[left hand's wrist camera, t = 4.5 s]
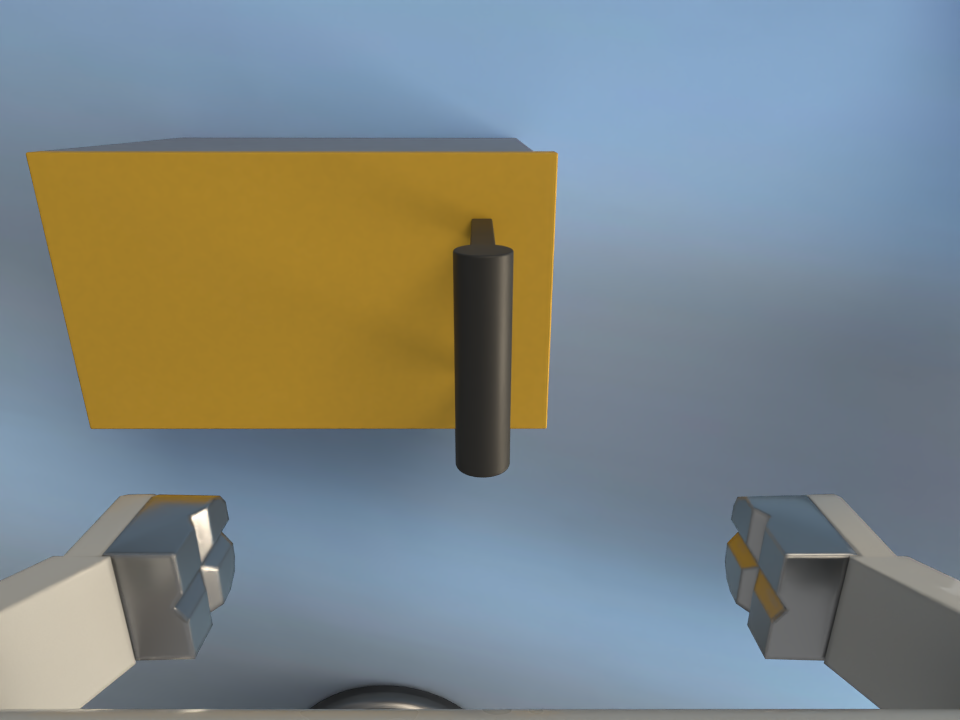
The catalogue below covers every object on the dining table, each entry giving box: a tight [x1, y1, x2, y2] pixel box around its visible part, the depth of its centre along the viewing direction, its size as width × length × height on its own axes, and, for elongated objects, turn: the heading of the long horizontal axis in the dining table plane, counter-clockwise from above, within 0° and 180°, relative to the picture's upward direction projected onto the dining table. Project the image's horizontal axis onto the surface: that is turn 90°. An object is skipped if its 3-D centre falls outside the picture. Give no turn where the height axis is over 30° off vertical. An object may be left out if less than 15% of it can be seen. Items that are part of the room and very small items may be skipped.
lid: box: [26, 151, 558, 477], centre depth 20 cm, size 17×10×8 cm, turn 90°
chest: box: [49, 138, 532, 151], centre depth 29 cm, size 17×10×11 cm, turn 90°
